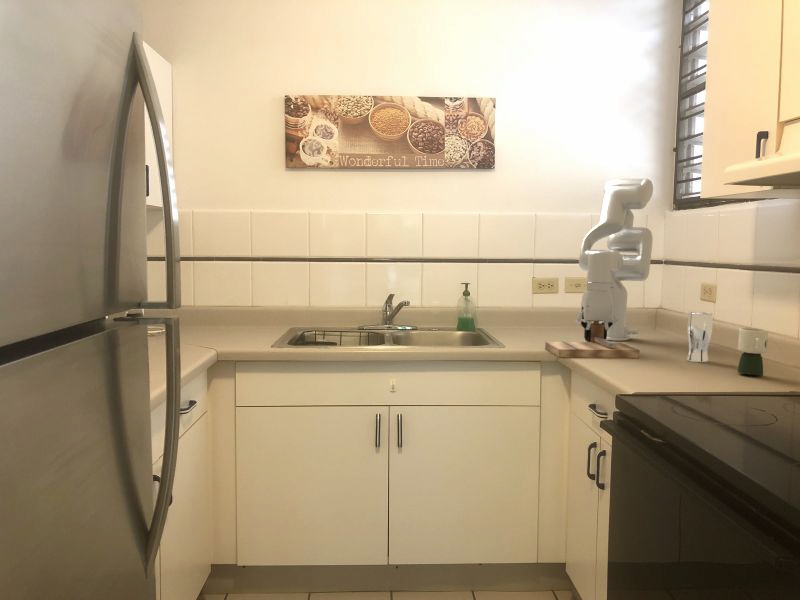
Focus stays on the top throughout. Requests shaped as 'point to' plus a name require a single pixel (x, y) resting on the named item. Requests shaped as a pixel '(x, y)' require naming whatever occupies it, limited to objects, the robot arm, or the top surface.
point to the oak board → (591, 350)
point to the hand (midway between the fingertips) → (595, 340)
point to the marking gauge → (599, 335)
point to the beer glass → (699, 336)
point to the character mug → (752, 350)
